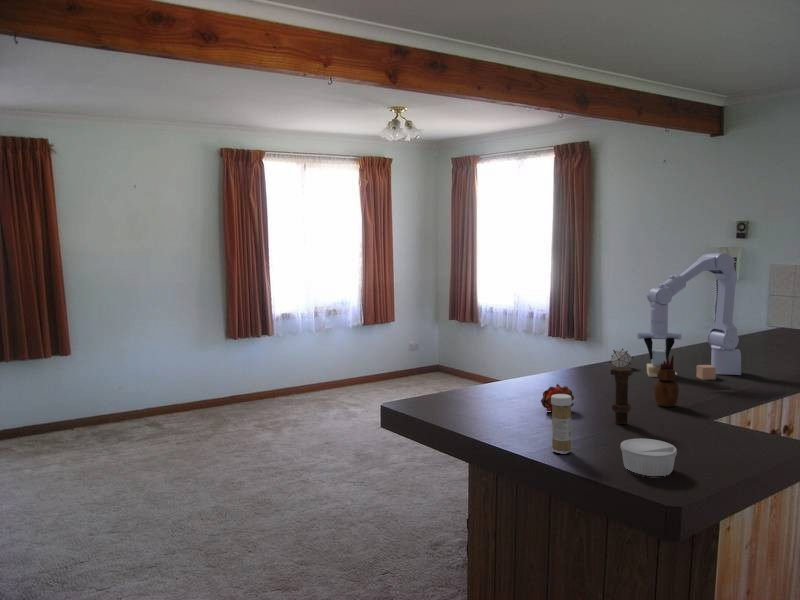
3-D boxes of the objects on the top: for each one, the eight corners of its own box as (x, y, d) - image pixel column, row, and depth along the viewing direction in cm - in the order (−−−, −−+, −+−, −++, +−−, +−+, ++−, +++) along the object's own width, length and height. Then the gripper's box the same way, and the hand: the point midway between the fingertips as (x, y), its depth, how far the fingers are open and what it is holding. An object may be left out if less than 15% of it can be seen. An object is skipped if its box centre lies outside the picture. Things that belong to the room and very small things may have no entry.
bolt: (628, 427, 164) (629, 371, 162) (609, 425, 166) (609, 369, 165) (633, 422, 169) (633, 367, 167) (614, 419, 171) (614, 365, 170)
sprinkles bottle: (557, 447, 149) (557, 392, 148) (575, 451, 146) (575, 395, 145) (547, 452, 145) (547, 396, 144) (565, 456, 142) (565, 398, 141)
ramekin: (665, 484, 125) (666, 458, 125) (611, 471, 133) (611, 447, 132) (684, 468, 133) (684, 444, 133) (632, 457, 141) (632, 435, 140)
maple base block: (667, 372, 227) (667, 363, 226) (670, 376, 220) (669, 366, 220) (646, 373, 228) (646, 363, 228) (649, 376, 222) (648, 367, 222)
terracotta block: (709, 378, 220) (709, 364, 219) (715, 381, 215) (715, 367, 215) (696, 379, 220) (696, 365, 219) (702, 381, 215) (702, 367, 215)
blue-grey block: (665, 363, 226) (664, 349, 226) (666, 365, 222) (665, 351, 222) (651, 363, 228) (651, 349, 227) (652, 365, 224) (652, 351, 223)
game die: (626, 380, 237) (639, 361, 231) (605, 372, 237) (617, 354, 231) (624, 365, 244) (636, 346, 238) (603, 357, 244) (615, 339, 238)
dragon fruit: (574, 413, 184) (547, 427, 177) (554, 393, 189) (527, 405, 182) (586, 394, 179) (558, 407, 172) (565, 374, 184) (537, 386, 177)
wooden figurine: (677, 404, 186) (678, 354, 185) (679, 408, 181) (680, 357, 180) (653, 402, 189) (653, 353, 187) (654, 407, 183) (654, 356, 182)
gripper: (638, 322, 221) (638, 360, 222) (683, 322, 217) (682, 361, 218) (636, 320, 227) (636, 357, 229) (679, 320, 224) (679, 358, 225)
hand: (658, 359), depth 224 cm, fingers closed on blue-grey block, 4 cm apart
